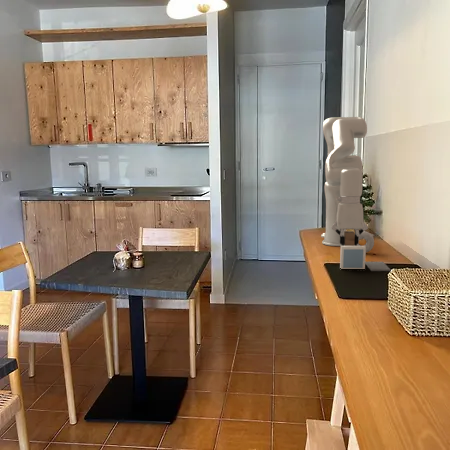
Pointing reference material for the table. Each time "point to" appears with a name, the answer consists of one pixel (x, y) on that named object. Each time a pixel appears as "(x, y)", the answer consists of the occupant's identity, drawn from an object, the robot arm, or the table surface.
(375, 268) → the mat
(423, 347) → the table surface
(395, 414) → the table surface
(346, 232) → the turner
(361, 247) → the tile
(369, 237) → the donut
